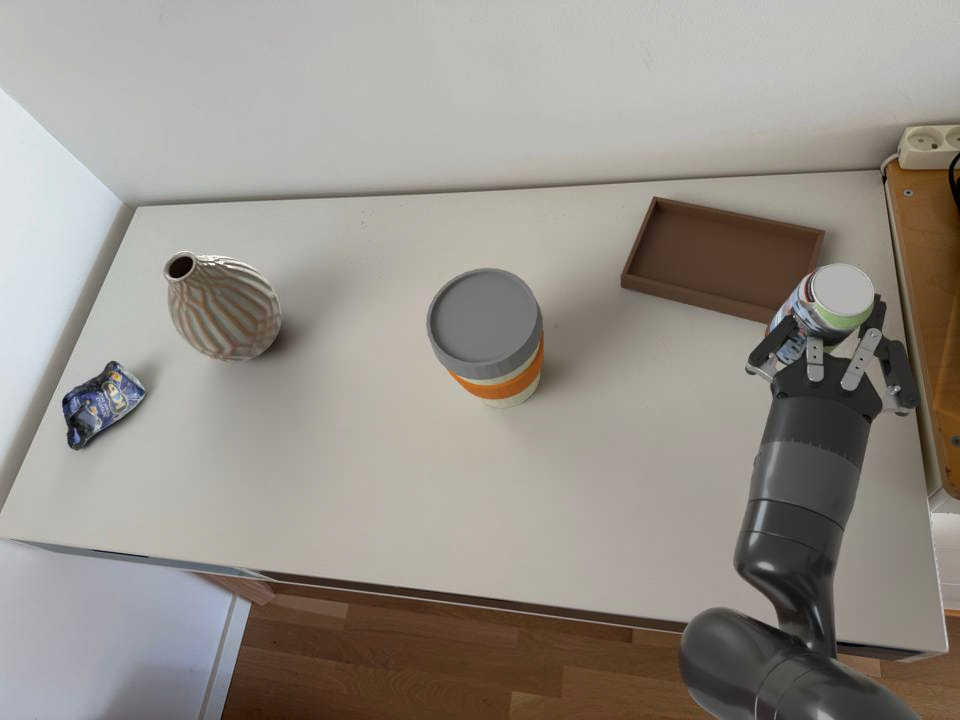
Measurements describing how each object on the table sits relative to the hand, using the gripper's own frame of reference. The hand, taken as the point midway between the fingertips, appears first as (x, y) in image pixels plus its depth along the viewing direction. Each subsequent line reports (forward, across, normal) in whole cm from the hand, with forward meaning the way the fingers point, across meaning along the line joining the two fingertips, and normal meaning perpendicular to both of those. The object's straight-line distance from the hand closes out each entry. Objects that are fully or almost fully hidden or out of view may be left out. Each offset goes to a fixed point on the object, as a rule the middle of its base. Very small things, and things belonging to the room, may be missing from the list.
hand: (849, 293), depth 59 cm
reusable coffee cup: (-11, +33, +18) cm, 39 cm away
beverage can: (-3, +2, +7) cm, 8 cm away
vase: (-16, +70, +18) cm, 74 cm away
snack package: (-34, +85, +18) cm, 93 cm away
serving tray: (+12, +13, +18) cm, 25 cm away
